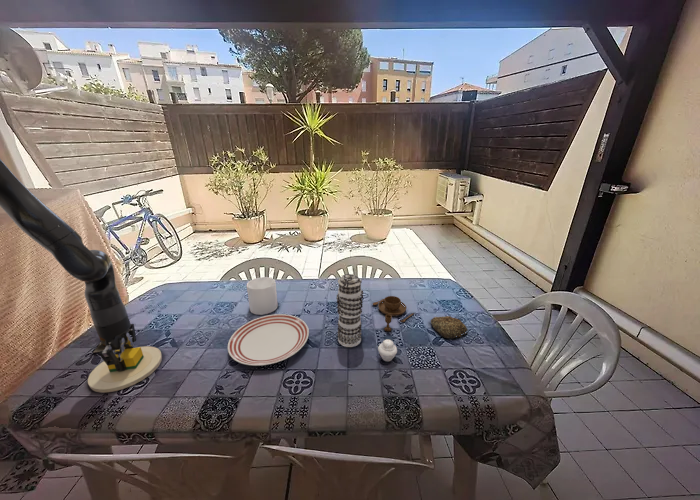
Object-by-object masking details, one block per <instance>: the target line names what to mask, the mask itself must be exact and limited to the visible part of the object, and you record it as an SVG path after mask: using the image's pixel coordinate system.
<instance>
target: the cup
mask: <svg viewBox="0 0 700 500" xmlns="http://www.w3.org/2000/svg"><path fill="white" fill-rule="evenodd" d="M246 291H247V299H248V307H249V312H251V314H253V315H258V316H265V315H268V314H271V313H273V312H275V311H276V310H277V309H278V306H279V304H278V303H279V302H278V293H277V283H276V279H274V278H273V277H269V276H261V277H256V278H253V279H251V280H249V281H248V282H247V283H246Z"/></svg>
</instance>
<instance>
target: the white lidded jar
mask: <svg viewBox="0 0 700 500" xmlns="http://www.w3.org/2000/svg"><path fill="white" fill-rule="evenodd" d="M377 350H378V354H379V356H380V357H381V359H382V360H383V361H384V362H391V361H392V360H393V359H394V358H395V357H396V355H397V353H398V347H397V346H396V345H395V343H394V342H393V340H392V339H388V338H387V339H384V340H383V341H382V342H381V343H379V345H378V347H377Z"/></svg>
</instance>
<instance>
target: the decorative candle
mask: <svg viewBox="0 0 700 500" xmlns="http://www.w3.org/2000/svg"><path fill="white" fill-rule="evenodd" d="M362 282H363V280H362V279H361V278H360V277H359V276H358V275H356V274H353V273H345V274H343V275H341V277H339V278H338V279H337V284H338V288H337V292H338V293H337V294H336V304H337V305H336V306H337V307H336V309H337V310H336V312H337V314H338V321H337V342H338V343H339V345H341V346H343V347H345V348H354V347H356V346H359V345H360V344H361V342H362V321H361V320H362V318H361V315H362V312H363V309H362V308H363V306H364V305H363V303H364V302H363V299H364V295H363V294H364V290H362Z"/></svg>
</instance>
